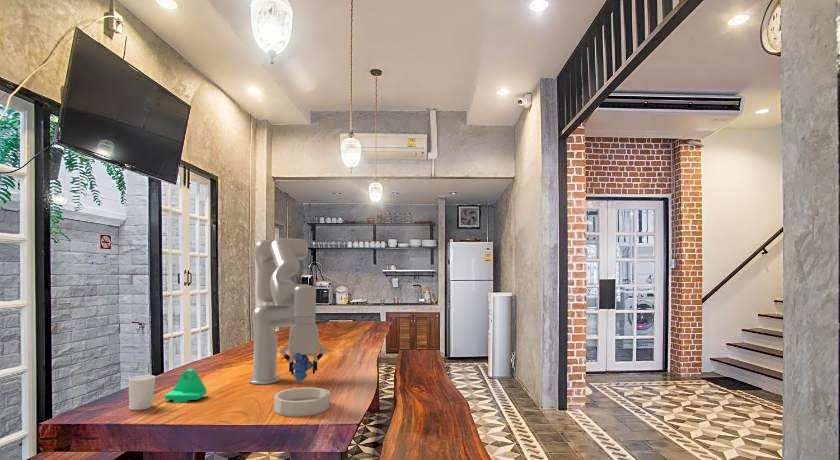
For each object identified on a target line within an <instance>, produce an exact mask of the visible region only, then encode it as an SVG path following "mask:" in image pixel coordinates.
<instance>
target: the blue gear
mask: <svg viewBox="0 0 840 460" xmlns="http://www.w3.org/2000/svg"><path fill="white" fill-rule="evenodd" d="M293 358H294V359H293V361H294V364H293V366H292V367H293V369H294V373H293V375H292V376H293V377H294V379H295V380H296V382H298V383H302V382H303V381H304V380H305V379H306V378H307V377H308V374H307V371H308V370H311V369H313V362H312V361H311V360H310V358H309V356H308V355H301V354H300V353H297V354H295V355H294V357H293Z"/></svg>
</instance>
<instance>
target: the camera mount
mask: <svg viewBox="0 0 840 460" xmlns="http://www.w3.org/2000/svg"><path fill="white" fill-rule="evenodd" d="M207 390H208V389H207V387H206V386H205V384H204V382H203V381H202V379H201V377H200V376H199V374H198V373H197V371H196V370H195V369H194V368H188V369H187V370H185V371H183V372H182V373H181V375H180V378H179V380H178V381H177V383H176V384H175V385H174V387H173V388H172V390H170V391H169V392H167V393H165V394H164V400H166V401H167V400H169V401H171V400H172V401H173V403H188V402H189V401H191V400H193V401H195V400H199V399H201V398H202V397H204V396H205V395H207V392H208V391H207Z"/></svg>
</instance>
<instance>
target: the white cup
mask: <svg viewBox="0 0 840 460" xmlns="http://www.w3.org/2000/svg"><path fill="white" fill-rule="evenodd" d="M155 383H156V375H152V374H143V375H136V376H131V377H129V378H128V409H129V410H131V411H141V410H146V409H150V408H151V407H152V406H153V401H154V400H153V398H154V392H155Z"/></svg>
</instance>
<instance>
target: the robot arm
mask: <svg viewBox="0 0 840 460" xmlns="http://www.w3.org/2000/svg"><path fill="white" fill-rule="evenodd" d="M308 247H309V246H308V244H307V241H305V240H304V239H302V238H289V237H286V238H285V237H284V238H283V237H280V238H276V239H262V240H259V241H257V242H256V244H255V246H254V250H253V251H254V259H255V262H256V265H257V287H256V289H257V291H256V294H257V298H258V301H259V302H262V303H275V304H269V305H267V304H266V305H259V306H257V307H256V308H254V309H253V312H252V325H253V357H252V359H253V361H252V362H253V364H252V368H253V369H252V376H251V377H249V378H248V383H250V384H253V385H269V384H275V383H277V382H279V381H280V380H281V376H279V375H277V369H278V366H277V365H278V362H277V361H278V336H277V334H276V333H275V332H274V330H273V329H274V328H287V327H290V329H289V335H288V343H287V344H286V345H285V346H284V347H282V348H281V349H280V351H279V353H280V355H282V357H283V358H284V359H285V360H286V361H287V362H288V363H289V366H288V368H289V369H288V370H289V371H288V372H290V375H292V376H293V374H294V372H295V370H294V369H293V367H292V366H293V364H294V363H295V361H294V358H293V357H294V355H295V354H297V353H300V354H301V355H306V356H312V358H313V361H312V364H313V366H312V374H314V375H315V374H316V372H317V371H318V362H319V360H320V359H321V358H323V356H324V355H325V354H326V353H327V351H328V348H326V346H324V345H323V344H321V343H320V340H319V339H320V337H319V336H320V335H319V326H318V324H316V312H317V311H316V310H317V309H316V308H317V304H316V303H317V289H316V287H315V286H313V285H309V284H306V283H302V284H301V283H299V284H297V283H294V282H293V280H291V279H289V278H291V277H293V276H294V275H296V274H297V273H298V272H299V270H300V262H299V261H303V260H304V259H306V258H307V256H308V254H309V248H308ZM287 350H288V354H289V355H288V354H287V352H286V351H287ZM319 350H321V351H319Z"/></svg>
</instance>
